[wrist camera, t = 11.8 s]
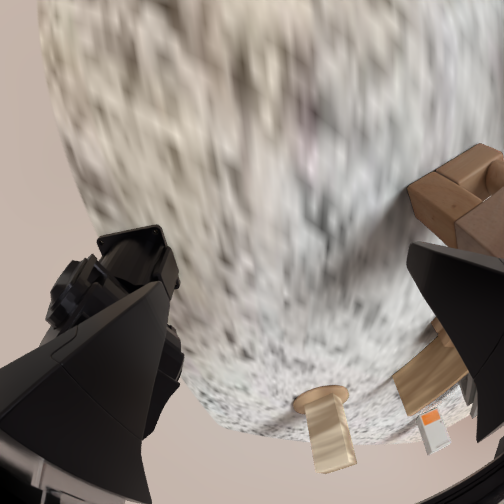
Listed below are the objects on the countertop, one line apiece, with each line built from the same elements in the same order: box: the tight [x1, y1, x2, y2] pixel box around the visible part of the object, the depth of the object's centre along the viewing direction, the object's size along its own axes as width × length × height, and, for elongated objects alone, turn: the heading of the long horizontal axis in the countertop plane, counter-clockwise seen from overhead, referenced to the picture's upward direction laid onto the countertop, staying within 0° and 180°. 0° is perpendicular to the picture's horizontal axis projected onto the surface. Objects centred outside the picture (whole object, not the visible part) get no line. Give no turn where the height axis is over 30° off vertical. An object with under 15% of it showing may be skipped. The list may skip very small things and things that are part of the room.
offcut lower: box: [431, 317, 443, 334], centre depth 30 cm, size 4×4×2 cm
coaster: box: [293, 385, 349, 414], centre depth 39 cm, size 9×9×1 cm
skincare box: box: [416, 407, 451, 455], centre depth 47 cm, size 6×4×12 cm
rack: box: [392, 336, 469, 416], centre depth 30 cm, size 6×17×8 cm, turn 148°
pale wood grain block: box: [304, 393, 357, 474], centre depth 33 cm, size 4×5×12 cm
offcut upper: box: [438, 328, 455, 347], centre depth 28 cm, size 3×4×2 cm
